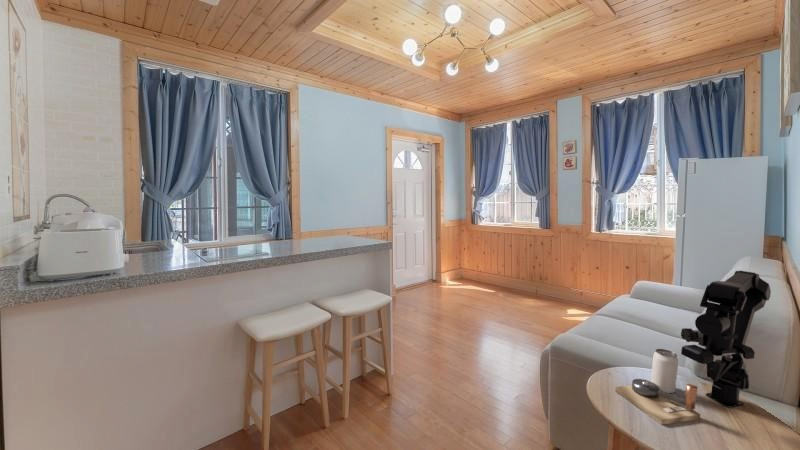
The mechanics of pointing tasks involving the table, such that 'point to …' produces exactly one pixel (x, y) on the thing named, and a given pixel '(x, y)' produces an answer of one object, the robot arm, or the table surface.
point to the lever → (654, 391)
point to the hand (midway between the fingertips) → (714, 380)
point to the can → (664, 370)
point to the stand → (658, 407)
